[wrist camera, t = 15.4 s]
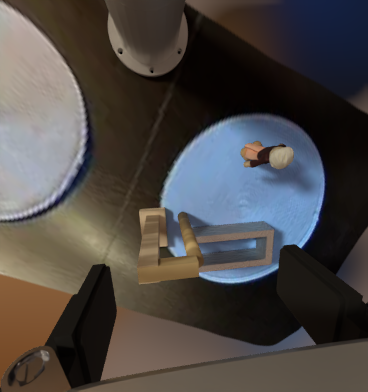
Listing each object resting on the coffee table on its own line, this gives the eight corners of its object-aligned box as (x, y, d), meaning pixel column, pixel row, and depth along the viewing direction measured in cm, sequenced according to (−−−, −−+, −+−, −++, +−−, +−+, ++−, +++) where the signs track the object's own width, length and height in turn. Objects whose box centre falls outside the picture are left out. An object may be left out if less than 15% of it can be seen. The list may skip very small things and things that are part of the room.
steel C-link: (263, 221, 45) (274, 229, 41) (261, 252, 47) (271, 264, 43) (191, 227, 43) (195, 236, 39) (193, 260, 45) (196, 272, 41)
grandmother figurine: (259, 132, 40) (304, 128, 27) (269, 147, 41) (316, 150, 28) (228, 156, 40) (258, 163, 28) (238, 171, 41) (271, 184, 29)
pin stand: (139, 209, 41) (124, 262, 23) (186, 205, 42) (206, 254, 24) (143, 244, 43) (132, 318, 25) (188, 240, 44) (207, 308, 26)
